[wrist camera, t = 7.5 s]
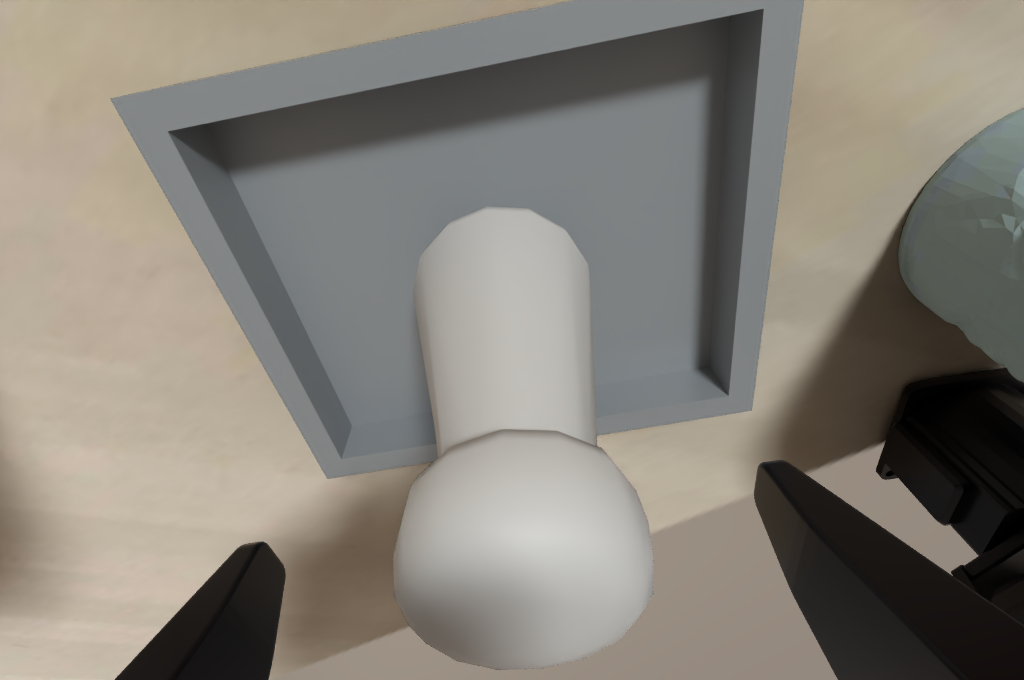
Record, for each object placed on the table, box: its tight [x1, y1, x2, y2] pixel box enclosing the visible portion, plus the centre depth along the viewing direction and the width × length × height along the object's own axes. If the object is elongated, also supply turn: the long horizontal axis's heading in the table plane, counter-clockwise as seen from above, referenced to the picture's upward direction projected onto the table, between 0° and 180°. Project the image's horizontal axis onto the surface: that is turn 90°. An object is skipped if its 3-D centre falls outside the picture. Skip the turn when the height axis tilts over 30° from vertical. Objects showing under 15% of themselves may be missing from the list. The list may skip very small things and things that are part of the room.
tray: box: [111, 0, 804, 479], centre depth 18 cm, size 18×15×3 cm
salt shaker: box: [393, 206, 653, 670], centre depth 13 cm, size 6×6×13 cm
